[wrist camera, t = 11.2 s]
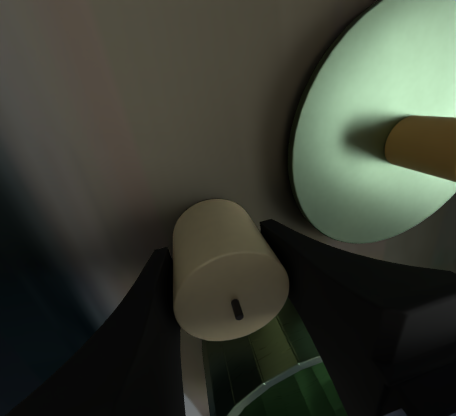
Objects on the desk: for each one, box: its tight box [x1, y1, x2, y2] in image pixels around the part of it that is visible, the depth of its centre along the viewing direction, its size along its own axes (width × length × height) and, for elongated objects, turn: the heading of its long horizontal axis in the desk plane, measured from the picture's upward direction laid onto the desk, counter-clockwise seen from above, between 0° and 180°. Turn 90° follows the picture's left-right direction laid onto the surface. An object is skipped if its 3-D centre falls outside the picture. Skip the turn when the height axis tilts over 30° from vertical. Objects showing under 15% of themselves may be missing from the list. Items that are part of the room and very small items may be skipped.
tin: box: [202, 297, 348, 416], centre depth 15 cm, size 11×11×5 cm
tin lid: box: [288, 0, 456, 243], centre depth 10 cm, size 12×12×4 cm
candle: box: [173, 199, 289, 341], centre depth 10 cm, size 4×4×5 cm
